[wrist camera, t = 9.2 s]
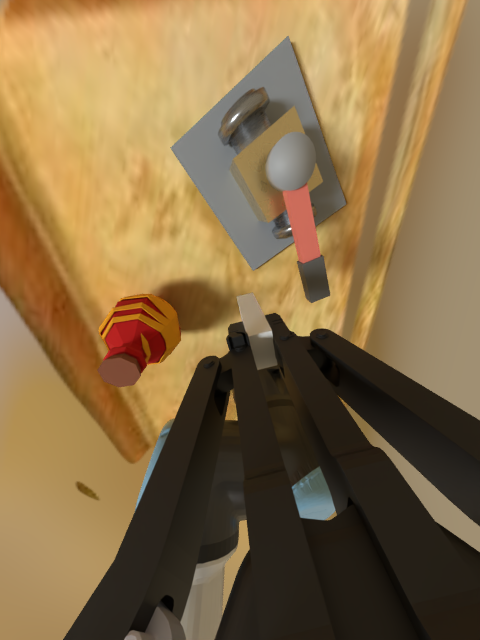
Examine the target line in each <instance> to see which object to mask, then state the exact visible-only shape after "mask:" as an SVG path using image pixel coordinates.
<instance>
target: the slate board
mask: <svg viewBox="0 0 480 640" xmlns="http://www.w3.org/2000/svg"><path fill="white" fill-rule="evenodd" d="M261 87H265V89H266V92H267V94H268V96H269V99H270V102H269V104H268V106H267V108H266V109H265V112H266V114H267V117H268V119H269V121H270V123H271V125H273V124H274V123H275V122H276V121H277V120H278V119H279V118H281V117H282V116H283V115H284V114H285V113H286V112H288V111H289V110H290V109H291V108H292V107H293V106H295V108H296V111H297V114H298V116H299V119H300V121H301V124H302V127H303V129H304V132H305V135H307V136H308V137H309V138H310V140H311V141H312V143H313V145H314V148H315V152H316V164H317V166H318V169H319V171H320V174H321V177H322V179H323V182H322V183H321V184H319V185H318V186H317V187H315V188H314V189H313V190H312V191H310V192H309V196H310V201H311V203H313V204H314V205H315V207H316V210H317V215H316V216H315V217H314V223H315V226H317V225H318V224H319V223H321V222H322V221H324V220H325V219H326V218H328V217H329V216H331V215H332V214H333V213H335V212H336V211H337V210H339V209H340V208H342V207H343V206H344V205H346V201H345V198H344V195H343V192H342V190H341V187H340V184H339V181H338V178H337V175H336V172H335V169H334V166H333V164H332V161H331V158H330V155H329V152H328V149H327V146H326V143H325V140H324V137H323V135H322V132H321V129H320V126H319V123H318V120H317V117H316V114H315V111H314V109H313V106H312V103H311V100H310V97H309V94H308V91H307V88H306V85H305V83H304V80H303V77H302V74H301V71H300V68H299V65H298V62H297V59H296V57H295V54H294V51H293V48H292V45H291V42H290V39H289V36H287V37H286V38H285V39H284V40H283V41H282V42H281V43H280V44H279V45H278V46H277V47H276V48H275V49H274V50H273V51H272V52H270V53H269V54H268V55H267V56H266V57H265V58H264V59H263V60H262V61H261V62H260V63H259V64H258V65H257V66H256V67H255V68H254V69H253V70H252V71H251V72H250V73H248V74H247V75H246V76H245V77H244V78H243V79H242V80H241V81H240V82H239V83H238V84H237V85H236V86H235V87H234V88H233V89H232V90H231V91H230V92H229V93H227V94H226V95H225V96H224V97H223V98H222V99H221V100H220V101H219V102H218V103H217V104H216V105H215V106H214V107H213V108H212V109H211V110H210V111H209V112H208V113H207V114H205V115H204V116H203V117H202V118H201V119H200V120H199V121H198V122H197V123H196V124H195V125H194V126H193V127H192V128H191V129H190V130H189V131H188V132H187V133H186V134H185V135H183V136H182V137H181V138H180V139H179V140H178V141H177V142H176V143H175V144H174V145H173V146H172V147H171V150H172V151H173V153H174V154H175V156H176V157H177V159H178V160H179V161H180V163H181V164H182V166H183V167H184V169H185V170H186V172H187V173H188V175H189V176H190V178H191V179H192V181H193V182H194V184H195V185H196V187H197V188H198V190H199V191H200V193H201V194H202V196H203V197H204V199H205V200H206V202H207V203H208V205H209V206H210V208H211V209H212V210H213V212H214V213H215V215H216V216H217V218H218V219H219V221H220V222H221V224H222V225H223V227H224V228H225V230H226V231H227V233H228V234H229V236H230V237H231V239H232V240H233V242H234V243H235V245H236V246H237V248H238V249H239V251H240V252H241V254H242V255H243V257H244V258H245V259H246V261H247V262H248V264H249V265H250V267H251V268H252V270H253V271H254V270H255V269H256V268H258V267H259V266H261V265H262V264H263V263H265V262H266V261H268V260H269V259H270V258H272V257H273V256H275V255H276V254H277V253H279V252H280V251H282V250H283V249H284V248H286V247H287V246H289V245H290V244H291V243H293V242H294V238H293V236H292V237H289V238H286V239H283V238H282V239H276V238H275V237H274V235H273V233H272V229H273V228H274V227H275V226H276V225H275V224H274V222H273V220H272V221H271V222H269V223H266V222H262V221H258V219H257V217H256V215H255V214H254V212H253V210H252V208H251V207H250V205H249V203H248V201H247V200H246V198H245V196H244V195H243V193H242V191H241V189H240V188H239V186H238V184H237V182H236V181H235V179H234V177H233V175H232V174H231V172H230V170H229V169H230V166H231V163H232V160H233V158H235V157H236V156H237V153H236V152H235V150H234V148H233V146H232V144H231V143H230V144H228V145H226V146H224V145H223V144H222V142H221V140H220V138H219V137H218V131H219V129H220V128H221V121H222V119H223V117H224V116H225V114H226V113H227V111H228V110H229V109H230V108H231V107H232V105H233V104H234V103H235V102H236V101H237V100H238V99H239V98H240V97H241V96H242V95H244V94H245V93H246V92H248V91H249V90H251V89H253V88H255V89H256V90H257V89H259V88H261Z"/></svg>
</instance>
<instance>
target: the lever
mask: <svg viewBox="0 0 480 640" xmlns="http://www.w3.org/2000/svg"><path fill="white" fill-rule="evenodd" d="M315 164H316V152H315V148H314V145H313V143H312V141H311V140H310V138H309V137H308V136H307V135H305V134H303V133H301V132H291V133H288V134H286V135H284V136H283V137H282V138H281V139H280V140H279V141H278V142H277V143H276V144H275V145H274V146H273V148H272V149H271V150H270V152H269V154H268V156H267V159H266V165H265V171H266V177H267V180H268V182H269V183H270V185H271V186H272V187H273V188H274V189H275V190H277V191H280V192H283V196H284V200H285V205H286V209H287V213H288V217H289V221H290V225H291V229H292V234H293V238H294V242H295V246H296V250H297V254H298V258H299V261H297V264H298V268H299V272H300V276H301V280H302V284H303V288H304V292H305V296H306V299H308V300H309V301H310V302H311V303H313V302H315V301H318V300H320V299H323V298H325V297H328V296H330V291H329V285H328V280H327V274H326V268H325V263H324V257H323V256H322V255H320V250H319V244H318V239H317V234H316V228H315V223H314V217H313V212H312V207H311V201H310V196H309V190H308V185H307V182H308V180H309V179H310V178H311V176H312V174H313V171H314V168H315Z"/></svg>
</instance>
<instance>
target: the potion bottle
mask: <svg viewBox="0 0 480 640" xmlns="http://www.w3.org/2000/svg"><path fill="white" fill-rule="evenodd" d="M99 334H100V336H101V338H102V339H103V341H104V343H105V345H106V347H107V349H108V353H107V355H106V356H105V358H104V359H103V362H102V364H101V365H100V367H99V368H98V372H99V374H100V375H101V377H102V379H103V380H104V382H107V383H110V384H112V385H115V386H117V387H124V386H130V385H134V384H135V383H136V382H137V380H138V379H139V378H140V376H141V373H142V372H143V370H144V369H145V368H146V366H147V365H149V364H159V363H161V362H163V361H164V360H165V359H166V358H167V356H168V355H170V354H171V353H172V351H173V350H174V349H175V347H176V346H177V345H178V344H179V342H180V341H181V331H180V327H179V323H178V317H177V313H176V311H175V309H174V308H173V307H172V306H171V305H170V304H169V303H168V302H167V301H165V300H163V299H162V298H160V297H158V296H154V295H152V294H140V295H134V296H128V297H124V298H121V299H120V301H119V302H118V303H117V304H116V306H115V308H112V310H111V311H110V312H109V314H108V315H107V317H106V318H105V320H104V321H103V323H102V324H101V326H100V327H99Z"/></svg>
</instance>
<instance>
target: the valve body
mask: <svg viewBox="0 0 480 640" xmlns="http://www.w3.org/2000/svg"><path fill="white" fill-rule="evenodd" d="M269 102H270V99H269V96H268V94H267V92H266V89H265V87H261V88H259V89H257V90H256V89H255V88H253V89H251V90H249V91H248V92H246V93H245V94H244V95H242V96H241V97H240V98H239V99H238V100H237V101H236V102H235V103H234V104H233V105H232V107H231V108H230V109H229V110H228V111H227V113H226V114H225V116H224V117H223V119H222V121H221V128H220V129H219V131H218V137H219V138H220V140H221V142H222V144H223V145H224V146H226V145H228V144H230V143H231V144H232V146H233V148H234V150H235V152H236V153H237V156H236V157H235V158H233V160H232V163H231V166H230V169H229V170H230V172H231V174H232V175H233V177H234V179H235V181H236V182H237V184H238V186H239V188H240V189H241V191H242V193H243V195H244V196H245V198H246V200H247V201H248V203H249V205H250V207H251V208H252V210H253V212H254V214H255V215H256V217H257V219H258V221H262V222H266V223H269V222H271V221H272V220H273V222H274V224H275V225H276V226H275V227H274V228H273V229H272V233H273V235H274V237H275V238H276V239H282V238H283V239H286V238H289V237H292V236H293V234H292V229H291V225H290V221H289V217H288V213H287V209H286V205H285V200H284V196H283V192H280V191H277V190H275V189H274V188H273V187H272V186H271V185H270V183H269V182H268V180H267V177H266V171H265V165H266V159H267V156H268V154H269V152H270V150H271V149H272V148H273V146H274V145H275V144H276V143H277V142H278V141H279V140H280V139H281V138H282V137H283V136H284V135H286V134H288V133H291V132H301V133H303V134H305V132H304V129H303V127H302V124H301V121H300V119H299V116H298V114H297V111H296V108H295V106H293V107H292V108H291V109H290V110H289V111H288V112H286V113H285V114H284V115H283V116H282V117H281V118H279V119H278V120H277V121H276V122H275V123H274V124H273V125H271V123H270V121H269V119H268V117H267V114H266V112H265V109H266V108H267V106H268V104H269ZM322 182H323V179H322V177H321V174H320V171H319V169H318V166H317V164H315V168H314V171H313V174H312V176H311V178H310V179H309V180H308V182H307V185H308V190H309V192H310V191H312V190H313V189H314V188H315V187H317V186H318V185H319V184H321V183H322ZM311 207H312V212H313V217H315V216H316V215H317V210H316V207H315V205H314V204H313V203H311Z"/></svg>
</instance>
